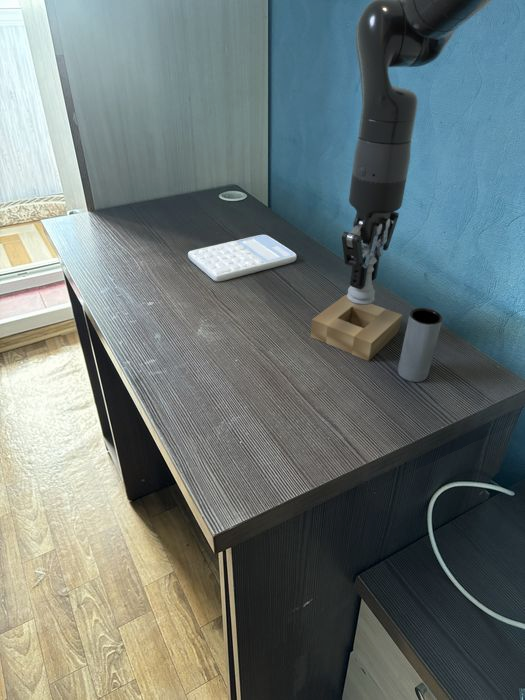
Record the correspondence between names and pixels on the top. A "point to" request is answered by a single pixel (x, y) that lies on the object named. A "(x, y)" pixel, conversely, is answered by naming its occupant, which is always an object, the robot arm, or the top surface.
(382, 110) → the robot arm
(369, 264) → the rook chess piece
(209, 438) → the top surface
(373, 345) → the holder
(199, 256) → the calculator
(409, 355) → the planter
